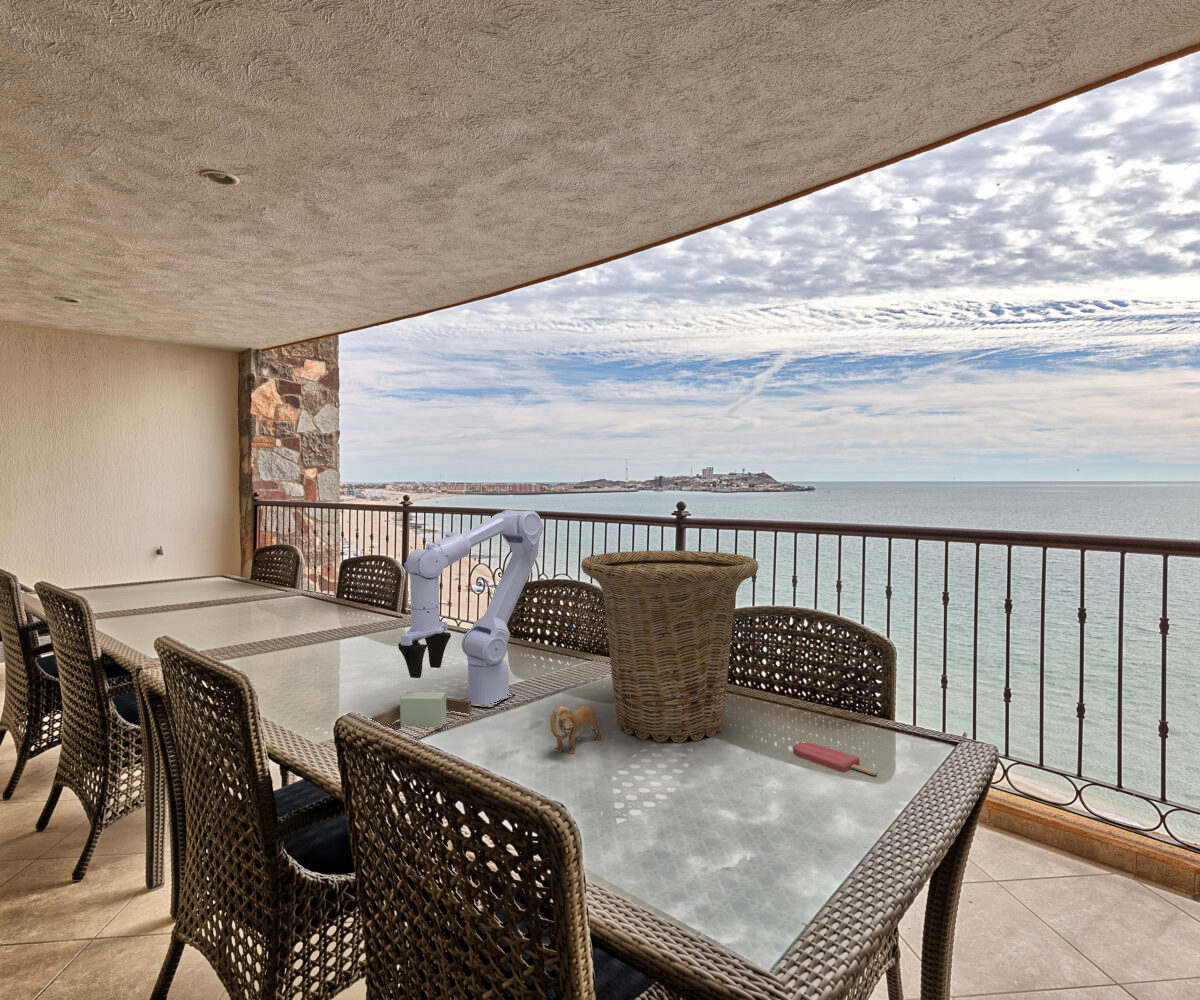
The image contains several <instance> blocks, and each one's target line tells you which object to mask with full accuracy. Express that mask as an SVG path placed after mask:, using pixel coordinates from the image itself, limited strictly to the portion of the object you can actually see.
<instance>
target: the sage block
mask: <svg viewBox="0 0 1200 1000" xmlns="http://www.w3.org/2000/svg"><path fill="white" fill-rule="evenodd" d="M446 698H447V692H445V691H444V692H439V691H437V692H435V691H434V692H432V691H431V692H428V691H427V692H423V691H422V692H418V691H417V692H413V691H411V692H409V691H407V692H405V694H404V695H402V697H401V696H400V698H399V699H400V701H399V702H400V703H399V705H400V717H401V721H400V727H401V726H404V725H406V726H416V727H428V728H429V727H439V728H440V727H442V726H443V724H444V723H445V721H446V718H447V714H446ZM443 727H444V726H443ZM443 727H442V728H443Z"/></svg>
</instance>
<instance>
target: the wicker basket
mask: <svg viewBox="0 0 1200 1000" xmlns="http://www.w3.org/2000/svg"><path fill="white" fill-rule="evenodd" d="M580 564H581V566H580V567H581V570H582V572H583V573H584V574H585V575H586V576H588V577H590V578H592V579H594V580H596V582H597V583H598V584H599V586H600V588H601V591H602V595H603V601H604V609H605V618H606V619H605V620H606V630H607V640H608V651H609V660H610V671H611V679H612V682H611V683H612V690H613V691H612V692H613V699H614V700H613V701H614V707H615V715H616V722H617V726H618V728H619V729H620V730H622V729H623V730H624V733H626V734H627V735H629V736H630V735H633V734H634V733H635V735H636V737H637V738H639V739H640V740H647V739H648V738H650V735H651V737H652V739H653V740H654V741H655V742H657V743H665V742H667V741H668V739H669V738H671V740H672V741H673V742H674V743H677V744H682V743H684V742H685V741H687V740H688V737H689V738H690V739H691V740H692V741H694V742H699V741H701V740H703V738H704V736H707V737H708V738H712V737H714V736H715V734H716V733H717V732H721V731H722V729H723V724H724V715H725V709H726V708H725V706H726V697H727V687H728V677H729V675H728V674H729V667H730V666H729V664H730V655H731V654H730V653H731V642H732V632H733V622H734V610H735V601H736V600H735V599H736V596H737V595H736V594H737V591H738V589H739V587H740V585H741V584H742V583H743V582H744V581H745V580H747V579H750V578H752V577H753V576H754V575H756V574H757V572H758V570H759V562H758V560H756V559H755V558H753V557H750V556H747V555H743V554H736V553H735V554H734V553H729V552H718V551H696V550H635V551H632V550H631V551H619V552H608V553H606V552H605V553H600V554H599V553H598V554H594V555H590V556H587V557H584V558H583V559H582V561H581V563H580Z"/></svg>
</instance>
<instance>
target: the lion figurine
mask: <svg viewBox="0 0 1200 1000" xmlns="http://www.w3.org/2000/svg"><path fill="white" fill-rule="evenodd" d="M549 723H550V725H549V727H550V730H551V731H550V732H551V733H552V735H553V737H555V739H556V743H557V747H556V748H555V749H554V751H555V753H558V752H559V753H561V752H562V751H563V747H564V746H563V740H565V739H568V742H569V743H568V744H569V745H568V751H567V753H568V755H575V754H576V749H575V748H576V747H575V741H576V742H578V741H581V740H582V737H583V734H584V733H585V725H586V724H588V726H590V728H591V729H592V732H593V733H596V735H594V740H597V741H599V740H601V738H602V735H601V734H602V732H601V727H600V725H599V724H598V722H597V717H596V712H595V709H594V708H593V707H592V706H591V705H586V704H585V705H581V706H579V707H578V708H576V709H575V710H574V711H572V710H571V708H568V707H566V706H564V705H562V706H558V707H555V708H554V709H553V710H552V713H551V714H550V719H549ZM577 732H578V735H577V736H576V733H577Z"/></svg>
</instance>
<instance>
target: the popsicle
mask: <svg viewBox="0 0 1200 1000" xmlns="http://www.w3.org/2000/svg"><path fill="white" fill-rule="evenodd" d="M793 755H795V756H797V757H798V758H801V759H804V760H807V761H808V762H812V763H814V764H818V765H821V766H824V767H826V768H829V769H832V770H835V771H838V772H840V773H847V772H849V771H851V770H853V769H854V770H856V771H858V772H862V773H865V774H868V775H870V776H877V775H878V772H877V770H876V771H875V770H872V769H869V768H866V767H864V766H860V757H858V756H856V755H852V754H850V753H846V752H842V751H839V750H837V749H834V748H833V749H832V748H830V747H826V746H823V745H820V744H816V743H812V742H798V743H795V744H794V746H793Z"/></svg>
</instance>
